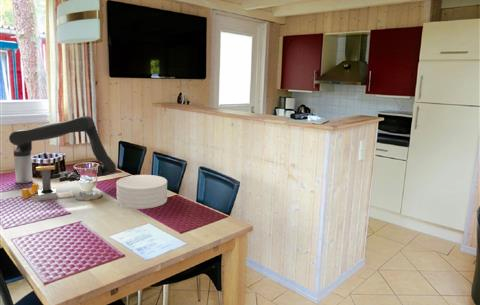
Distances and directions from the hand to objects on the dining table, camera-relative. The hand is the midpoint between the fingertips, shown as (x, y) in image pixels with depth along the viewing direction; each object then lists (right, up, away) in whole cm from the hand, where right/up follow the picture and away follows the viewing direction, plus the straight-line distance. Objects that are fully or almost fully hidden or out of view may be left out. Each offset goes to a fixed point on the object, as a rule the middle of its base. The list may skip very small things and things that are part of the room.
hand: (56, 178), depth 204 cm
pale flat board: (-1, -12, 0) cm, 12 cm away
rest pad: (+4, -10, +3) cm, 11 cm away
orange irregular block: (-16, -11, +2) cm, 19 cm away
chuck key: (-4, -10, -2) cm, 11 cm away
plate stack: (+47, -13, +5) cm, 49 cm away
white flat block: (-4, -10, -2) cm, 11 cm away
